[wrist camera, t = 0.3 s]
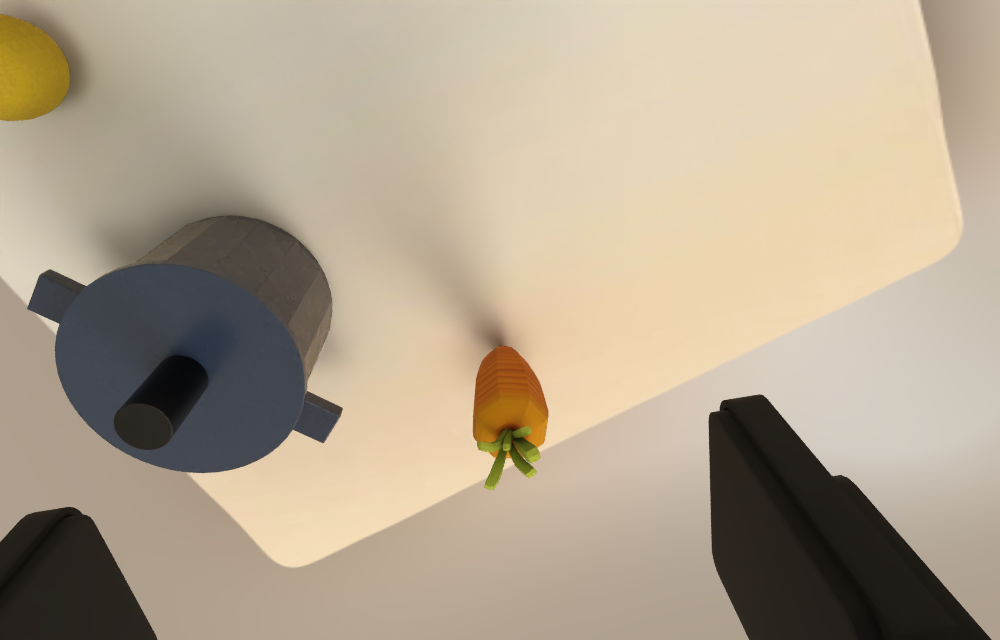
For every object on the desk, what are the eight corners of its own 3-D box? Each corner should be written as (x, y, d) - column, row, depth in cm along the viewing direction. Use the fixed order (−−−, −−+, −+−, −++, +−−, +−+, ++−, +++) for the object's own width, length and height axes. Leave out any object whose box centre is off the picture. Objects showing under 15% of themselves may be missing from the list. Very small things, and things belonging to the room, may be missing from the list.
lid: (113, 209, 33) (42, 247, 27) (349, 330, 37) (329, 385, 31) (36, 401, 38) (-39, 467, 32) (253, 492, 41) (220, 566, 36)
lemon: (108, 107, 40) (29, 125, 33) (19, 114, 40) (-79, 134, 33) (77, 11, 38) (-14, 7, 31) (-17, 18, 38) (-131, 16, 30)
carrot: (481, 385, 50) (487, 518, 37) (460, 331, 48) (459, 452, 34) (541, 367, 50) (570, 495, 36) (523, 312, 48) (547, 426, 34)
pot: (152, 159, 42) (60, 198, 32) (395, 291, 46) (378, 359, 37) (90, 309, 46) (-8, 384, 36) (319, 416, 51) (286, 506, 41)
